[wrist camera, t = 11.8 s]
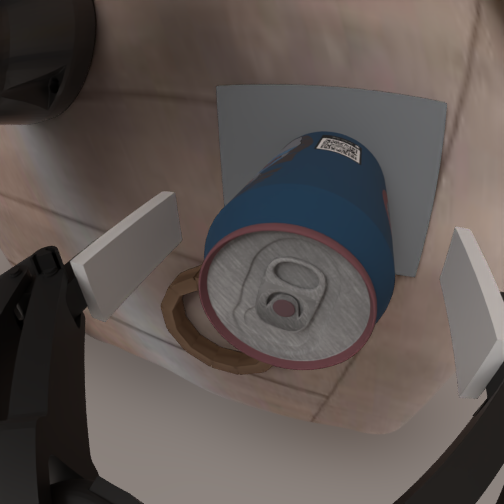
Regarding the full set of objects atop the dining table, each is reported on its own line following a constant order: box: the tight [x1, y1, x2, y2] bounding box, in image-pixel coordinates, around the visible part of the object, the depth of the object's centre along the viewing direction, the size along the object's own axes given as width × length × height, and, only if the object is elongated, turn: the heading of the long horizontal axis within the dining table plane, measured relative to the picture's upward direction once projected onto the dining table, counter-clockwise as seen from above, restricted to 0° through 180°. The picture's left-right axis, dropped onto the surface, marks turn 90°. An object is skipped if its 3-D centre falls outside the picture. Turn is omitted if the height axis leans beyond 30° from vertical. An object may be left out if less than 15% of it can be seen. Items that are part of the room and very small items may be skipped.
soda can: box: [198, 131, 395, 370], centre depth 15 cm, size 7×7×12 cm
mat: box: [216, 84, 447, 277], centre depth 20 cm, size 14×12×1 cm
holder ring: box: [161, 265, 272, 375], centre depth 29 cm, size 12×12×2 cm
